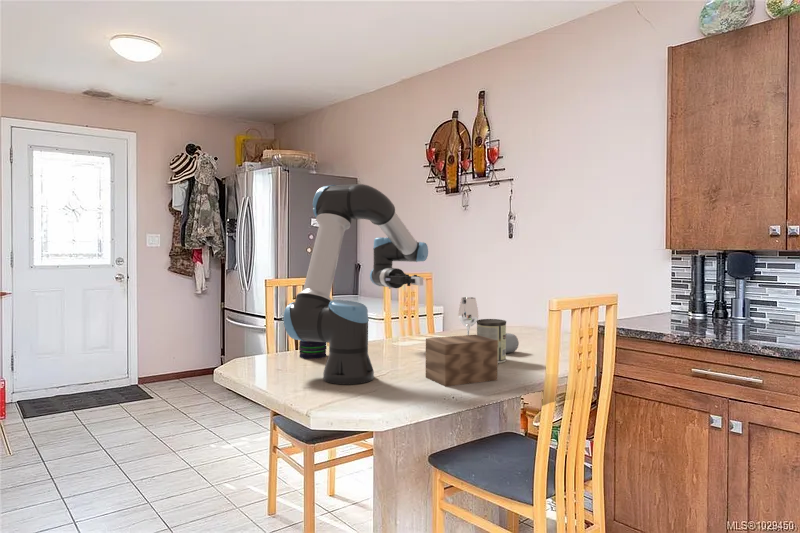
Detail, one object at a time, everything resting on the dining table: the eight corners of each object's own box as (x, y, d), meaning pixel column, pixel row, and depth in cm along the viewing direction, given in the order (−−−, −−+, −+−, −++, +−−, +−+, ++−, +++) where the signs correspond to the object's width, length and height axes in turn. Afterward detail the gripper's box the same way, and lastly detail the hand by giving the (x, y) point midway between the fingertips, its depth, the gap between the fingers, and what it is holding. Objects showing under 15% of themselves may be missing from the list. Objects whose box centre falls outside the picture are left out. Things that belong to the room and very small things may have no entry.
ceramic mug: (520, 353, 209) (520, 332, 209) (504, 355, 204) (504, 334, 204) (500, 349, 218) (500, 329, 218) (484, 351, 213) (484, 331, 213)
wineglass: (479, 350, 214) (479, 298, 213) (459, 350, 214) (459, 298, 214) (476, 346, 222) (477, 297, 221) (457, 346, 222) (457, 296, 221)
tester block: (445, 386, 158) (445, 344, 158) (425, 377, 169) (425, 338, 169) (497, 380, 166) (497, 340, 166) (475, 371, 177) (475, 334, 177)
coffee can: (475, 357, 201) (476, 318, 200) (504, 358, 200) (505, 319, 199) (476, 363, 191) (477, 322, 190) (507, 363, 190) (507, 322, 189)
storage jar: (318, 359, 195) (318, 317, 195) (293, 357, 199) (293, 316, 198) (331, 354, 204) (331, 314, 204) (307, 353, 208) (307, 313, 207)
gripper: (408, 287, 215) (437, 291, 194) (377, 288, 209) (404, 293, 188) (408, 267, 215) (437, 270, 193) (377, 268, 209) (404, 270, 188)
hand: (421, 281), depth 191 cm, fingers closed
